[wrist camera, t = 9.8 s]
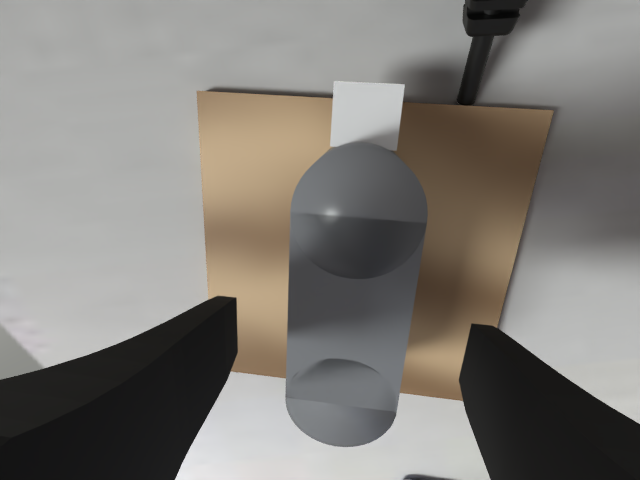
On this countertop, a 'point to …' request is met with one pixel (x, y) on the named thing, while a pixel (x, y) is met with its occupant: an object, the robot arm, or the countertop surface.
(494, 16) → the power plug
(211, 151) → the oak board
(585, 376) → the countertop surface
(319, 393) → the grey capsule with tab
